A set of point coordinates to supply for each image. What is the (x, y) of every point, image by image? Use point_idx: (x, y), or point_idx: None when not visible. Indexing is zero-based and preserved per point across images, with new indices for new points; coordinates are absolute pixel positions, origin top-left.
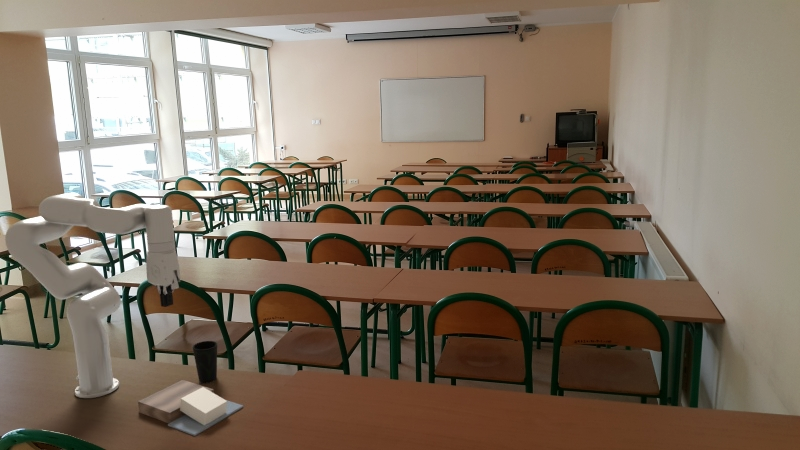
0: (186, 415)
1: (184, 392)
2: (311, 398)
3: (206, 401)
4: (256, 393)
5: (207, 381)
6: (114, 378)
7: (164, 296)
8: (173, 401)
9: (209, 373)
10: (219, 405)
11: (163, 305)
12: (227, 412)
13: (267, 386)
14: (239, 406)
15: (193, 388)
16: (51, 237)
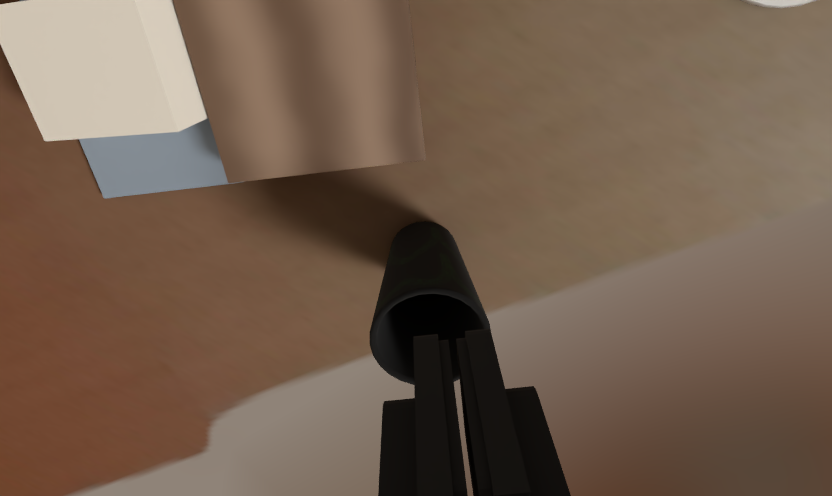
0: None
1: (300, 90)
2: (12, 355)
3: (68, 70)
4: (177, 283)
5: (396, 237)
6: (792, 3)
7: (420, 479)
8: (250, 1)
9: (388, 259)
10: (25, 96)
11: (433, 344)
12: None
13: (199, 331)
14: (105, 186)
15: (305, 138)
16: None
